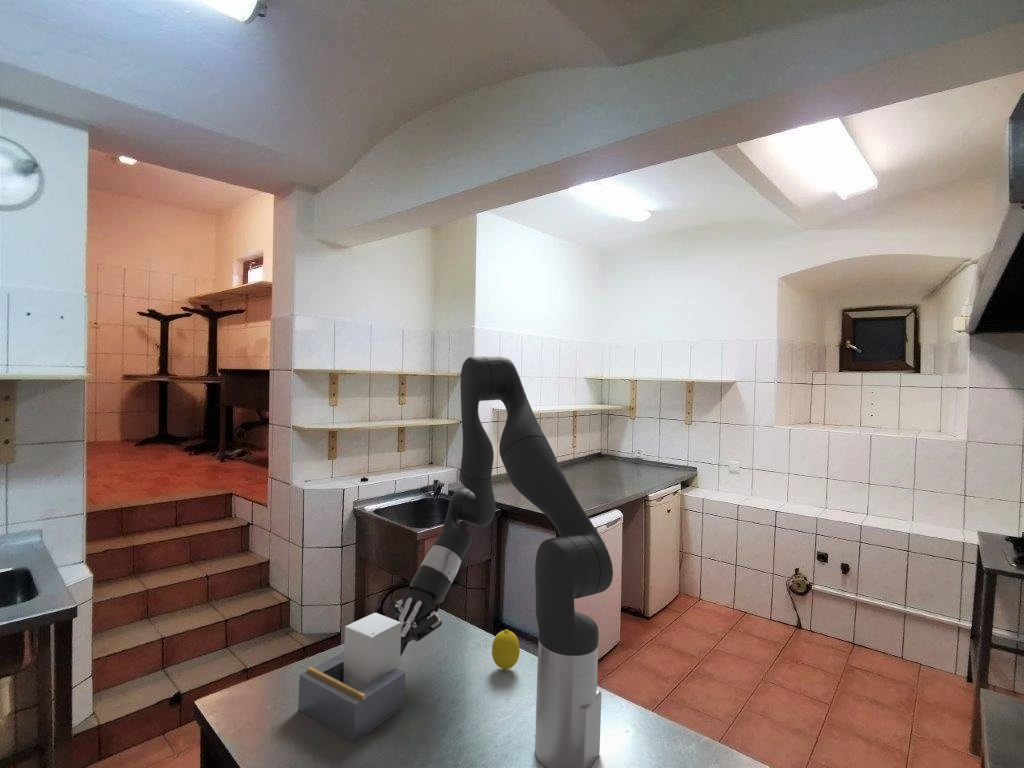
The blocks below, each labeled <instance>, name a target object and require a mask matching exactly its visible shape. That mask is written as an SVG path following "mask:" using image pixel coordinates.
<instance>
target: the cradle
mask: <svg viewBox="0 0 1024 768" xmlns="http://www.w3.org/2000/svg"><path fill="white" fill-rule="evenodd" d="M406 673H407V672H406V671H403V670H401V669H400V670H399V669H397V668H394V669H392V670H391V671H389V672H388V673H386V674H384V675H383V676H381V677H379V678H378V679H376V680H375V681H373V682H371V683H370V684H368V685H366V686H365V687H363V688H362V689H360V690H356V689H354V688H352V687H350V686H348V685H346V684H344V683H343V675H344V651H342V653H339V654H337V655H336V656H333V657H332V658H330V659H328V660H325V661H324V662H322V663H320V664H318V665H316V666H314V667H313V666H310V665H309V666H308V667H306V671H304V672H303V673H300V674H299V679H298V680H299V685H298V704H297V711H298V712H301V714H303V713H304V714H303V715H304V716H307V717H308V718H310V719H312V720H314V722H317V723H318V724H320V725H321V726H323V727H326V728H327V729H329V730H330V731H332V732H333V733H335V734H336V735H339V736H340V737H342V738H344V739H346V740H347V741H349V742H351V743H352V744H355V743H357V742H359V740H361V739H362V738H364V737H365V736H367V734H369V733H370V732H372V731H373V730H375V729H376V728H378V727H379V726H380V725H381V724H383V723H384V722H385V721H387V720H388V719H390V718H391V717H393V716H394V715H395V714H397V713H398V712H399V711H401V710H403V709H404V708H405V701H406V700H405V698H406V697H405V696H406V675H407V674H406Z"/></svg>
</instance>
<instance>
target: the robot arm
mask: <svg viewBox="0 0 1024 768" xmlns="http://www.w3.org/2000/svg"><path fill="white" fill-rule="evenodd" d="M459 389H460V407H461V408H460V411H461V412H460V413H461V414H460V415H461V430H462V431H461V432H462V433H461V434H462V449H461V450H462V452H461V461H460V462H461V463H460V470H459V471H460V472H459V480H460V483H461V484H462V485H463V486H464V488H459V489H457V490H456V491H454V493H453V494H452V495H451V497H450V501H449V504H448V507H447V512H446V516H445V519H444V523H443V526H442V528H441V530H440V533H439V535H437V538H436V540H435V541H434V544H433V545H432V547H431V548H430V549H429V551H428V552H427V554H426V555H425V556H424V558H423V560H422V562H421V564H420V566H419V567H418V569H417V571H416V572H415V575H414V576H413V578H412V580H411V581H410V584H409V589H408V591H407V592H406V593H405V594H404V595H403V596H402V599H400V600H395V599H392V600H391V601H390V602H389V618H391V619H393V620H396V621H399V622H401V652H400V658H401V657H402V655H403V653H404V652H405V650H406V648H407V646H408V644H409V643H410V642H412V641H415V642H420V641H421V640H422V639H424V638H425V637H427V636H428V635H430V634H431V633H432V632H434V631H436V629H438V628H439V627H441V626H442V624H443V621H442V620H441V619H440V618H439V614H438V611H439V609H440V607H439V606H440V604H441V603H443V601H444V599H445V597H446V596H447V593H448V591H449V589H450V588H451V586H452V584H453V582H454V580H455V578H456V576H457V574H458V571H459V568H460V566H461V563H462V561H463V559H464V558H465V556H466V554H467V552H468V550H469V548H470V546H471V543H472V535H471V534H470V533H469V532H468V530H466V529H465V528H463V527H462V526H461V525H459V523H460V521H462V522H464V523H467V524H469V525H471V526H472V525H473V526H475V527H478V528H485V527H487V526H489V525H490V524H491V523H492V521H493V520H494V517H495V514H496V500H495V499H496V498H495V495H494V490H493V483H492V482H493V481H492V475H493V474H492V473H493V468H494V459H495V457H494V455H495V453H494V447H493V444H492V441H491V439H490V437H489V435H488V434H487V431H486V430H485V428H484V426H483V424H482V422H481V419H480V415H479V404H480V402H481V401H482V402H484V401H486V402H488V401H501V402H502V404H503V405H504V407H505V410H506V414H507V415H506V416H507V417H506V421H505V425H504V427H503V430H502V432H501V436H500V441H499V446H498V449H499V451H498V452H499V456H500V460H501V461H502V464H503V467H504V469H505V472H506V473H507V476H508V478H509V481H510V482H511V484H512V486H513V487H514V488H515V489H516V490H517V491H518V492H519V493H520V495H522V496H523V497H524V498H525V499H526V500H527V501H529V502H530V503H531V504H532V505H533V506H535V508H537V509H539V510H540V512H542V513H543V514H544V515H545V516H546V517H547V518H548V519H549V520H550V521H551V523H552V524H553V526H554V527H555V529H556V531H557V532H558V534H559V536H558V537H551V538H547V539H545V540H544V541H542V542H541V543H540V545H539V546H538V548H537V551H536V555H535V565H534V571H535V572H534V582H535V583H534V584H535V587H534V589H535V614H536V615H535V616H536V623H537V627H538V643H537V644H538V648H537V649H538V650H537V651H538V652H537V677H536V699H535V701H536V705H535V706H536V707H535V730H534V731H535V734H534V739H535V740H534V754H535V756H536V758H537V760H538V762H540V764H541V765H542V766H543V767H545V768H591V767H592V765H593V764H594V763H595V761H596V760H597V758H598V756H599V755H600V754H601V753H600V752H601V751H600V749H601V724H602V723H601V719H602V718H601V717H602V713H601V712H602V691H600V690H598V666H599V665H598V663H599V661H598V660H599V637H600V636H599V627H598V625H597V623H596V621H595V620H594V619H593V618H591V617H590V616H588V615H587V614H584V613H582V612H579V611H576V610H575V599H580V598H585V597H589V596H593V595H596V594H601V593H603V592H606V590H608V589H609V588H610V586H611V585H612V581H613V578H614V569H613V568H614V566H613V562H612V559H611V555H610V552H609V550H608V549H607V546H606V544H605V542H604V540H603V538H602V537H601V535H600V533H599V532H598V531H597V529H596V527H595V526H594V524H593V522H592V521H591V520H590V518H589V516H588V515H587V513H586V511H585V510H584V509H583V507H582V504H581V503H580V502H579V500H578V498H577V497H576V495H575V492H574V491H573V489H572V487H571V486H570V484H569V482H568V480H567V479H566V476H565V474H564V472H563V469H561V466H560V464H559V462H558V460H557V459H558V458H557V457H556V455H555V453H554V451H553V449H552V447H551V444H550V443H549V441H548V439H547V437H546V434H544V431H543V430H542V428H541V426H540V423H539V422H538V419H537V417H536V415H535V414H534V411H533V408H532V407H531V404H530V401H529V399H528V397H527V394H526V391H525V389H524V386H523V383H522V380H521V378H520V375H519V373H518V369H517V368H516V365H515V363H514V362H513V361H512V359H510V358H509V357H507V356H502V355H496V356H495V355H492V356H491V355H490V356H489V355H486V356H483V355H482V356H481V355H479V356H478V355H477V356H469V357H467V358H466V359H465V360H464V362H463V364H462V366H461V372H460V388H459Z"/></svg>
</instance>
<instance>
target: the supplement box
mask: <svg viewBox="0 0 1024 768" xmlns="http://www.w3.org/2000/svg"><path fill="white" fill-rule="evenodd" d="M343 643H344V648H343V652H344V675H343V683H344V684H346V685H348V686H350V687H352V688H354V689H356V690H360V689H362V688H363V687H365V686H366V685H368V684H370V683H371V682H373V681H375V680H376V679H378V678H379V677H381V676H383V675H384V674H386V673H388V672H389V671H391V670H392V669H394V668H397V669H399V670H401V657H400V652H401V622H399V621H396V620H393V619H391V618H390V617H388V616H386V615H383V614H380V613H378V612H373V613H371V614H369V615H367V616H364V617H362V618H360V619H358V620H356V621H353V622H351V623H350V624H347V625H345V626H344V642H343Z"/></svg>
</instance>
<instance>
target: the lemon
mask: <svg viewBox="0 0 1024 768" xmlns="http://www.w3.org/2000/svg"><path fill="white" fill-rule="evenodd" d="M520 647H521V646H520V642H519V638H518V637H517V635H516V634H515V633H514V632H513V631H511V630H509V629H504V630H501V631H499V632H498V633H497V634H496V635H495V636H494V639H493V642H492V646H491V656H492V660H493V662H494V663H495V665H496V666H497V667H499V668H500V669H502V671H504V672H505V671H507V670H509V669H511V668H513V667H514V666H515V665H516V664H517V662H518V660H519V657H520V652H521V651H520V650H521V649H520Z"/></svg>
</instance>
